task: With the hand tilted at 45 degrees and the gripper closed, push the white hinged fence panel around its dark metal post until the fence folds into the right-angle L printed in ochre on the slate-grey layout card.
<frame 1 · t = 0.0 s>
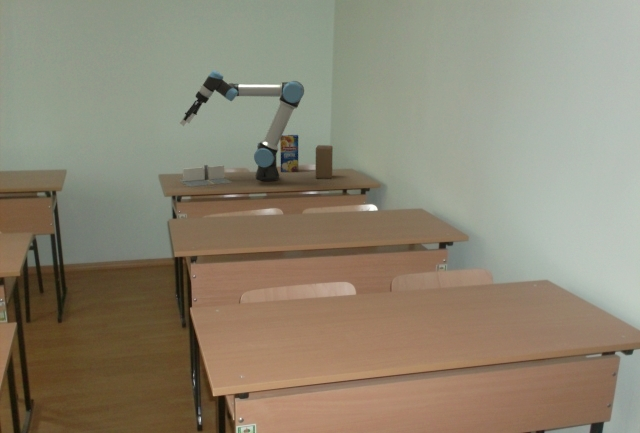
hand: (184, 123, 375), 36 cm above the table, tool tilted 35°, fingers open, 13 cm apart
hinged panel: (193, 174, 385), point 5 cm above the table, hinge at 0.0°
fence: (206, 179, 390), resting on layout card
layout card: (205, 181, 386), on the table
wooden block: (323, 177, 403), on the table
juice carton: (289, 171, 423), on the table
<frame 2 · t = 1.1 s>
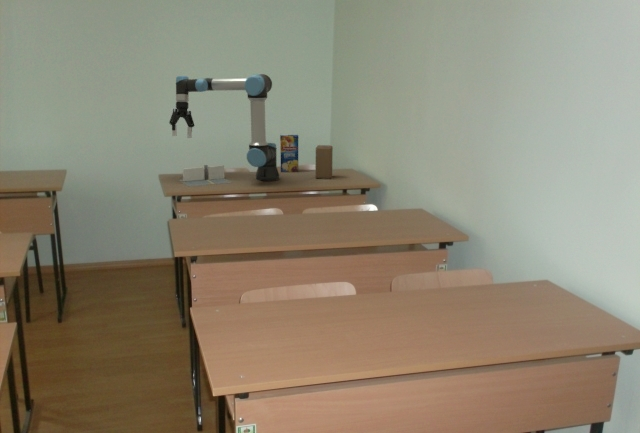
hand: (182, 136, 384), 27 cm above the table, tool pointing down, fingers open, 13 cm apart
nothing on the table moved.
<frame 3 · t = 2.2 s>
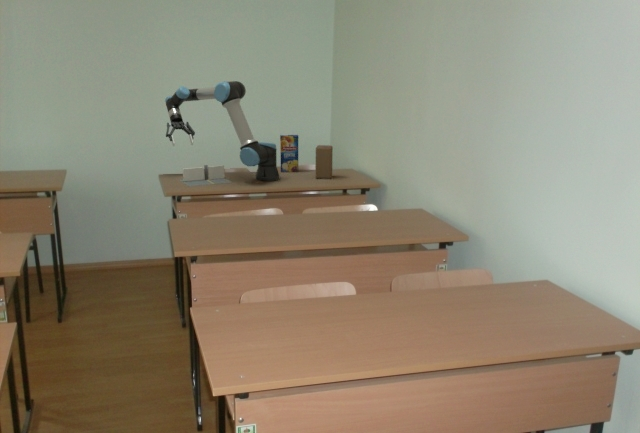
hand: (183, 144, 394), 21 cm above the table, tool tilted 45°, fingers open, 11 cm apart
nothing on the table moved.
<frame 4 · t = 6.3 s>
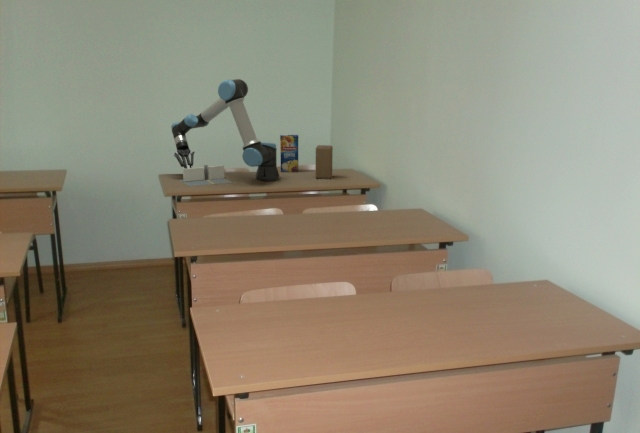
hand: (190, 175, 386), 4 cm above the table, tool tilted 45°, fingers closed
hinged panel: (193, 174, 385), point 5 cm above the table, hinge at 2.5°, touching gripper
everything else where it was.
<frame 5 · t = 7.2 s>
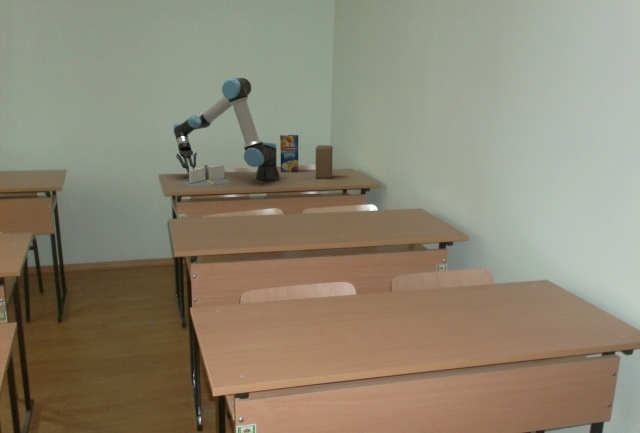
hand: (192, 176, 382), 4 cm above the table, tool tilted 45°, fingers closed
hinged panel: (197, 175, 382), point 5 cm above the table, hinge at 31.3°, touching gripper
everything else where it was.
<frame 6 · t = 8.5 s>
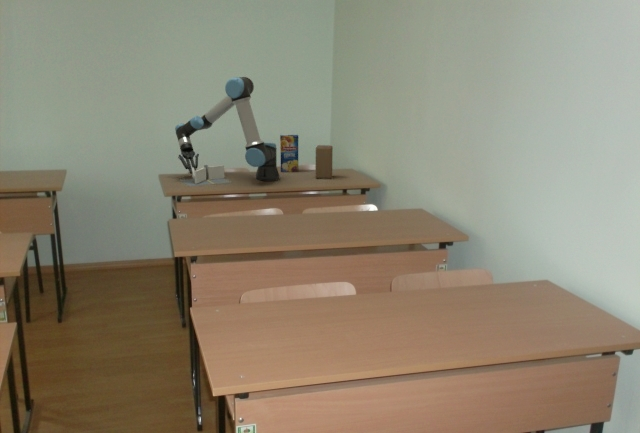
hand: (194, 177, 378), 4 cm above the table, tool tilted 45°, fingers closed
hinged panel: (200, 175, 381), point 5 cm above the table, hinge at 47.3°, touching gripper
everything else where it was.
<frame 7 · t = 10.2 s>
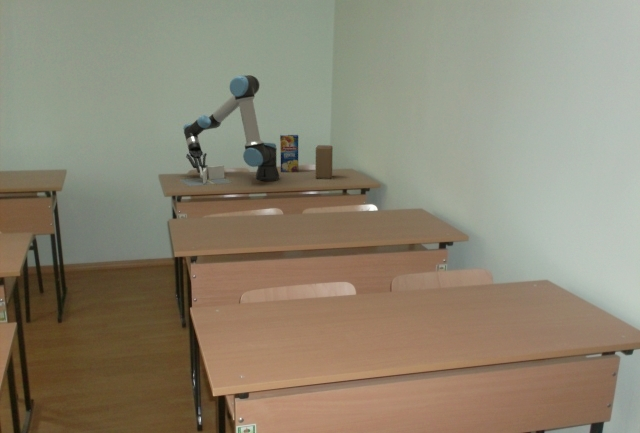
hand: (201, 176, 380), 4 cm above the table, tool tilted 45°, fingers closed
hinged panel: (204, 175, 381), point 5 cm above the table, hinge at 67.5°, touching gripper
everything else where it was.
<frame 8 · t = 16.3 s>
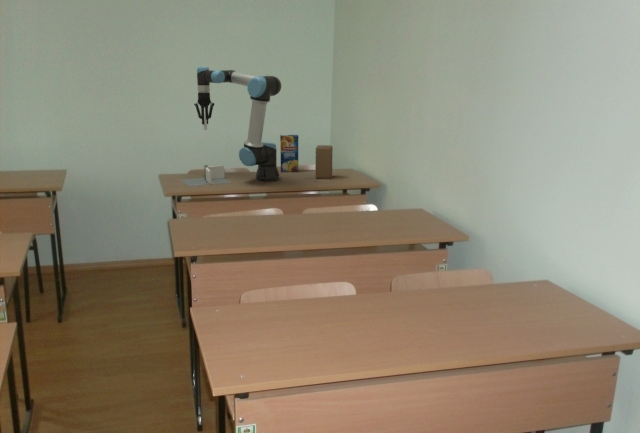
hand: (205, 129, 401), 29 cm above the table, tool pointing down, fingers closed
hinged panel: (208, 175, 382), point 5 cm above the table, hinge at 81.5°
everything else where it was.
at the end: hinged panel at +82° (first picture: +0°) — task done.
